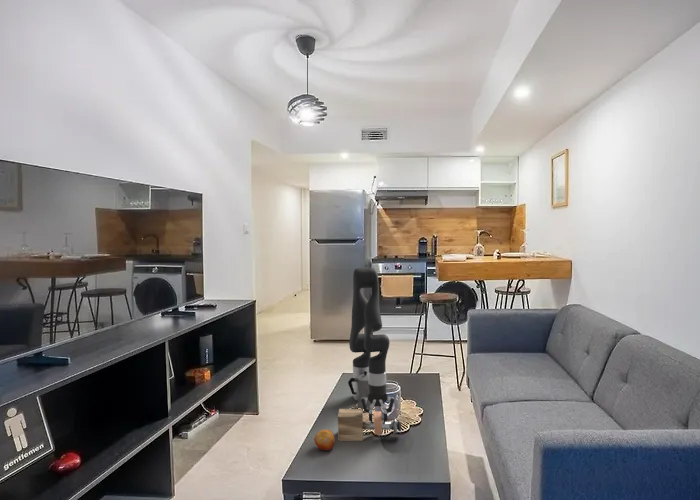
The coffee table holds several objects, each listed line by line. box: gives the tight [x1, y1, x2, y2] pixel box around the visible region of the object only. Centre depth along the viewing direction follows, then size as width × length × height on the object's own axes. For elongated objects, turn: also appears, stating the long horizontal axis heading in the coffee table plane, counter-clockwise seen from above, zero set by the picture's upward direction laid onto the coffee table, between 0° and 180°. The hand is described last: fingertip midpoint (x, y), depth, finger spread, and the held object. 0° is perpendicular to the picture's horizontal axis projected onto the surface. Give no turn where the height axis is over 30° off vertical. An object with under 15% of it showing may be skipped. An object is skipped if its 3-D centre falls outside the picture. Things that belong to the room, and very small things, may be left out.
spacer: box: [373, 410, 383, 436], centre depth 182 cm, size 7×3×6 cm, turn 177°
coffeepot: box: [347, 371, 371, 409], centre depth 210 cm, size 15×9×18 cm, turn 107°
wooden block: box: [337, 408, 364, 442], centre depth 183 cm, size 8×10×10 cm
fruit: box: [313, 428, 335, 451], centre depth 174 cm, size 8×8×8 cm
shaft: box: [362, 418, 402, 434], centre depth 182 cm, size 6×18×6 cm, turn 87°
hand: (378, 421), depth 182 cm, fingers open, 5 cm apart
